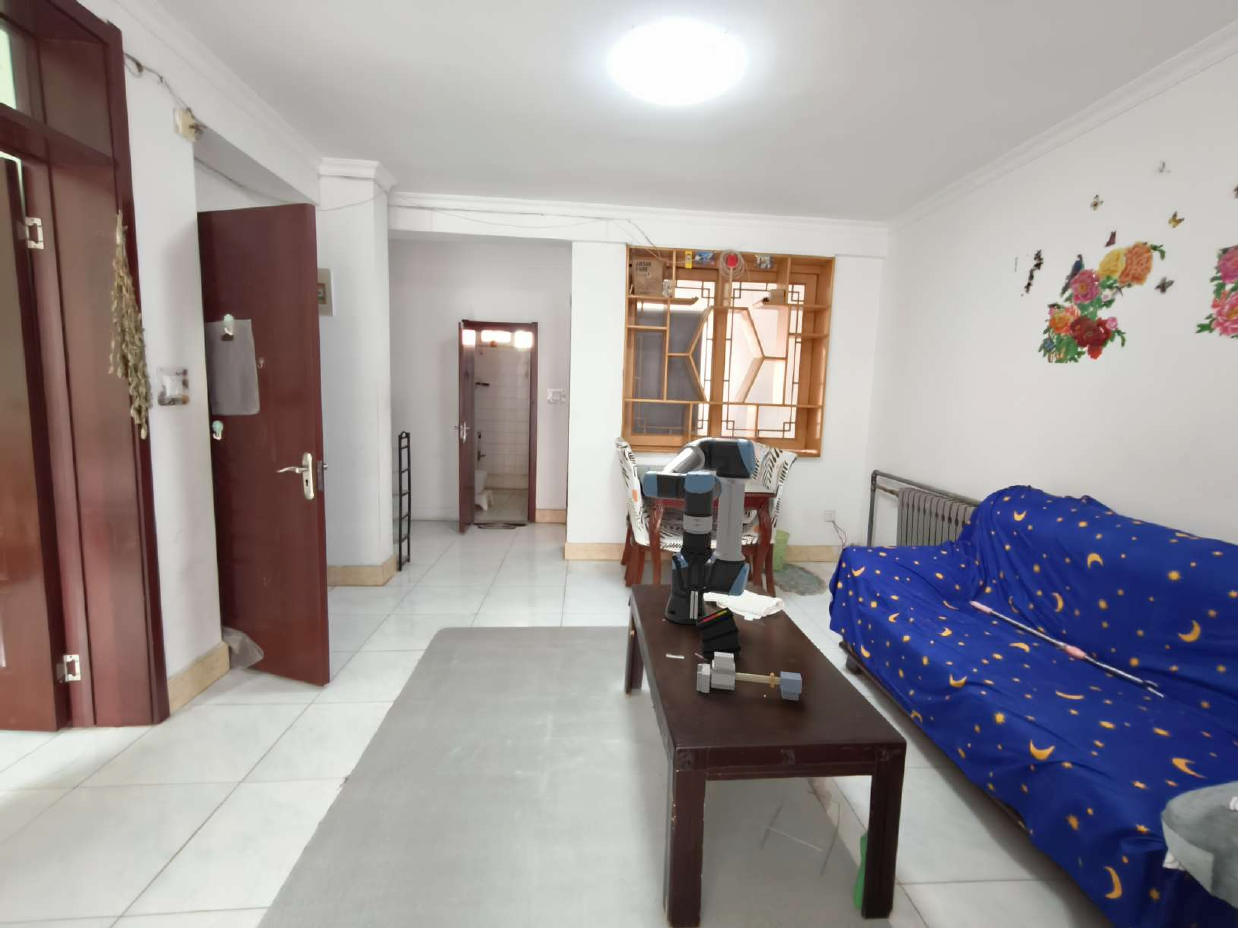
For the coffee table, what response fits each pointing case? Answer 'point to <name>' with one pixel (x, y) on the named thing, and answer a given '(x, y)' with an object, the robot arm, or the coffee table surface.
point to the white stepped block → (723, 671)
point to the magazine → (719, 634)
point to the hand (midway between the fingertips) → (693, 616)
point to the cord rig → (787, 681)
